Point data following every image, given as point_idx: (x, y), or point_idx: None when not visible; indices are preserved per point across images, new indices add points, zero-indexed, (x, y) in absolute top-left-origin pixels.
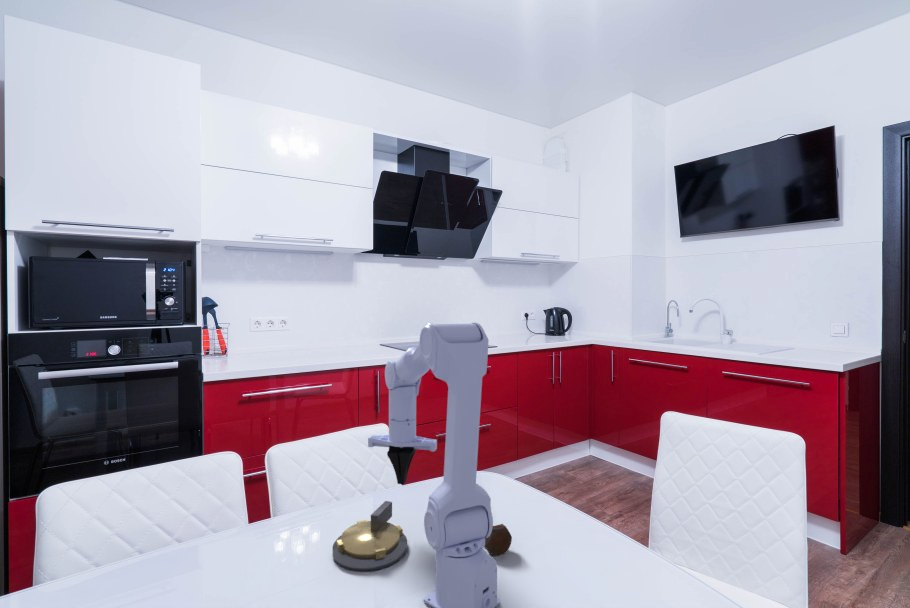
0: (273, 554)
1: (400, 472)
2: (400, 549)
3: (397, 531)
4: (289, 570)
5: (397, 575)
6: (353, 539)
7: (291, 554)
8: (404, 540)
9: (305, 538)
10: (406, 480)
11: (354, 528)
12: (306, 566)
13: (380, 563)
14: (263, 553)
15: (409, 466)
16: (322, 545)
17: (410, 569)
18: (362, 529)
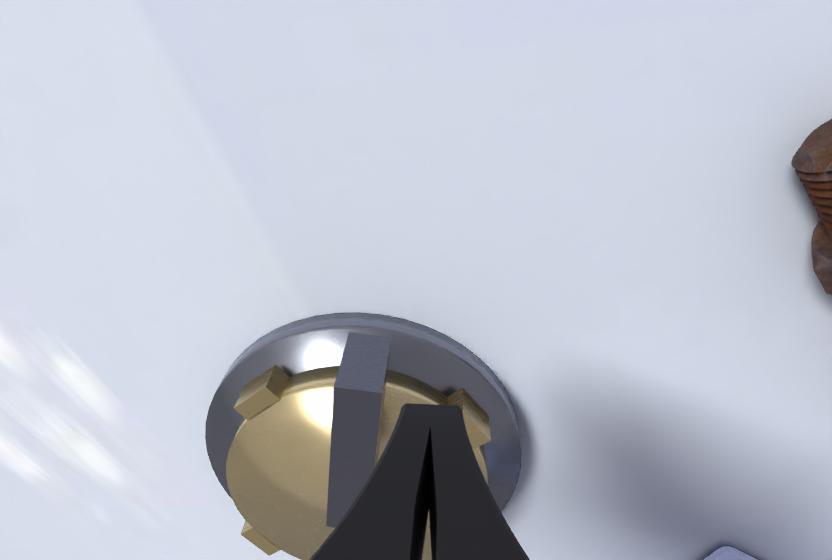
0: (40, 496)
1: (420, 543)
2: (501, 479)
3: None
4: (162, 551)
5: (517, 540)
6: (302, 523)
7: (98, 490)
8: (501, 424)
9: (58, 403)
10: (462, 415)
11: (258, 457)
12: (198, 532)
13: None
14: (3, 495)
15: (492, 501)
16: (162, 435)
17: (555, 514)
18: (299, 461)
